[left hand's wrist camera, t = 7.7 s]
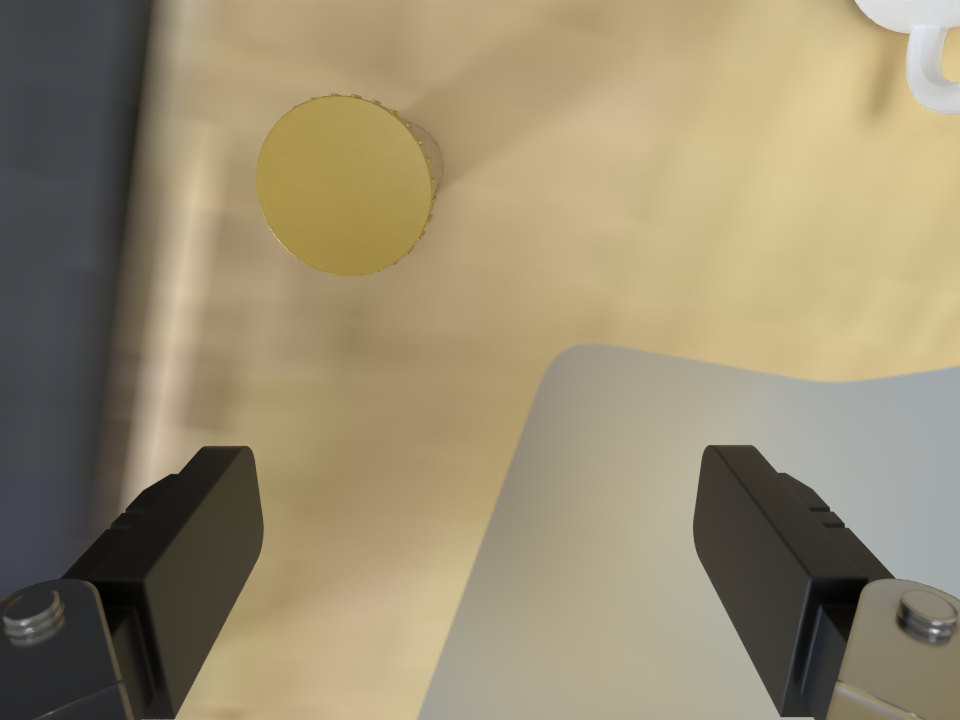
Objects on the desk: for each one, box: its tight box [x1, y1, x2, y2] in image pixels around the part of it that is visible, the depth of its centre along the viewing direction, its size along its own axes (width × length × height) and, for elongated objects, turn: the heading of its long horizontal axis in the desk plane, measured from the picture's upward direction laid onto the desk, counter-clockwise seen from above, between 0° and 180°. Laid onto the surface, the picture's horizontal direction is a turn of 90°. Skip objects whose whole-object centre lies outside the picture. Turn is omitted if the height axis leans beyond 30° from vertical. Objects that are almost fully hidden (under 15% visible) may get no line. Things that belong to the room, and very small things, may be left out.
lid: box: [256, 94, 437, 276], centre depth 20 cm, size 6×6×2 cm
